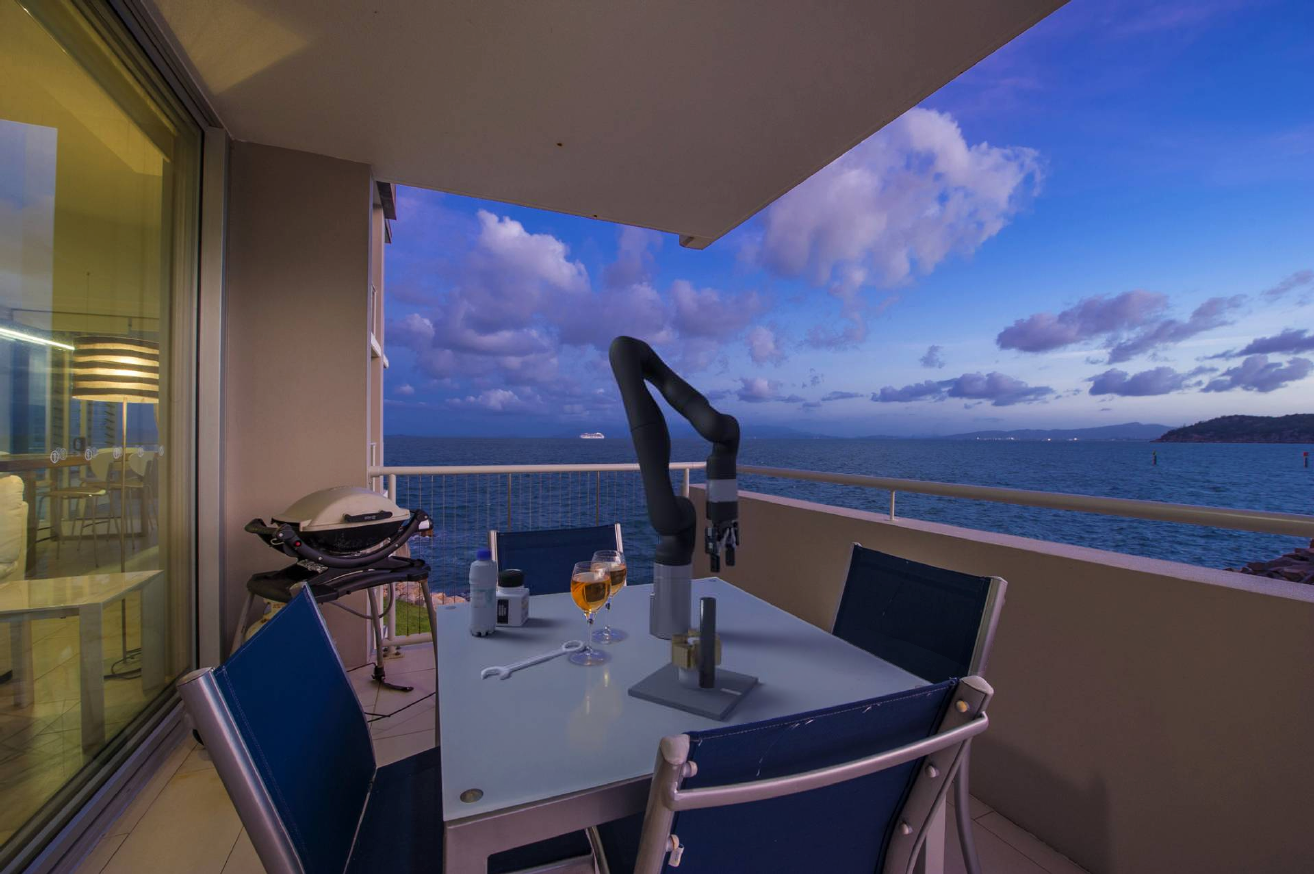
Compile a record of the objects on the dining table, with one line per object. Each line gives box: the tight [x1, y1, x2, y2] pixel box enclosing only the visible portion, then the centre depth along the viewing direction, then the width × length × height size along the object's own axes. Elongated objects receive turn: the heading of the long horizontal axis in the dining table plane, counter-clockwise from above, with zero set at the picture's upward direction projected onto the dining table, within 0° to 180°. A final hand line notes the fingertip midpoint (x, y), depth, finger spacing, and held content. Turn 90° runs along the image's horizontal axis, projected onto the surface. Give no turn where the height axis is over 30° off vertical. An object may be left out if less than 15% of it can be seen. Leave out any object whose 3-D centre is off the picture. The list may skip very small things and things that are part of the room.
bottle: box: [468, 548, 499, 637], centre depth 133 cm, size 7×7×20 cm
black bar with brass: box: [669, 596, 722, 690], centre depth 99 cm, size 19×9×15 cm, turn 4°
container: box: [496, 568, 530, 627], centre depth 142 cm, size 8×8×13 cm
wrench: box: [480, 639, 585, 680], centre depth 116 cm, size 25×5×2 cm, turn 140°
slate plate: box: [627, 637, 759, 722], centre depth 103 cm, size 18×18×9 cm
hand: (723, 569), depth 128 cm, fingers open, 8 cm apart
